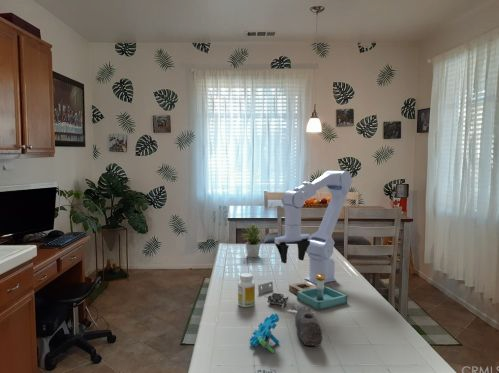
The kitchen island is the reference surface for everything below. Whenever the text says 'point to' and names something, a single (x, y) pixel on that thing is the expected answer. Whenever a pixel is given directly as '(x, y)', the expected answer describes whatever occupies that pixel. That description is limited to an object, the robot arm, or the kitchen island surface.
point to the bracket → (268, 288)
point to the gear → (265, 332)
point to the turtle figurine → (283, 302)
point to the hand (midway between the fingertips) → (292, 261)
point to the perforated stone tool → (308, 327)
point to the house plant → (252, 241)
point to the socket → (300, 287)
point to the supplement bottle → (246, 290)
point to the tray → (330, 300)
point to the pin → (320, 286)
